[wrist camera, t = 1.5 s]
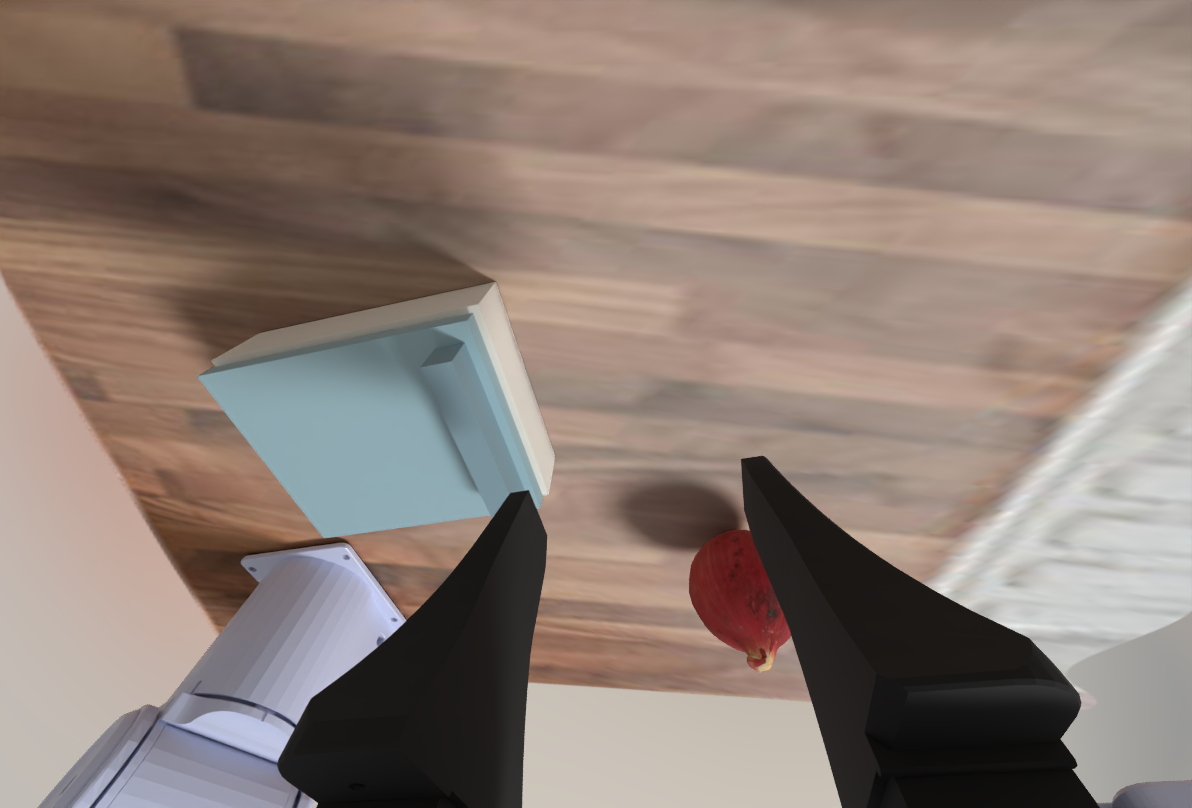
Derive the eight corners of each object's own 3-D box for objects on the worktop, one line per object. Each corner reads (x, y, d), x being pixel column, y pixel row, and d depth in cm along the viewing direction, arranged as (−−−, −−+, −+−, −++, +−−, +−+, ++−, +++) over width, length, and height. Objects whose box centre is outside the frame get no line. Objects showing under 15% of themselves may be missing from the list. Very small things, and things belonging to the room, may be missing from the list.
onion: (710, 488, 25) (746, 618, 19) (795, 516, 26) (859, 650, 20) (665, 550, 28) (682, 682, 21) (743, 573, 29) (783, 707, 22)
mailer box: (555, 456, 24) (548, 494, 22) (361, 486, 26) (334, 525, 24) (495, 281, 19) (478, 304, 17) (259, 333, 21) (210, 360, 18)
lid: (542, 496, 22) (535, 534, 20) (332, 526, 23) (305, 564, 21) (472, 313, 17) (453, 338, 15) (212, 367, 18) (162, 396, 16)
